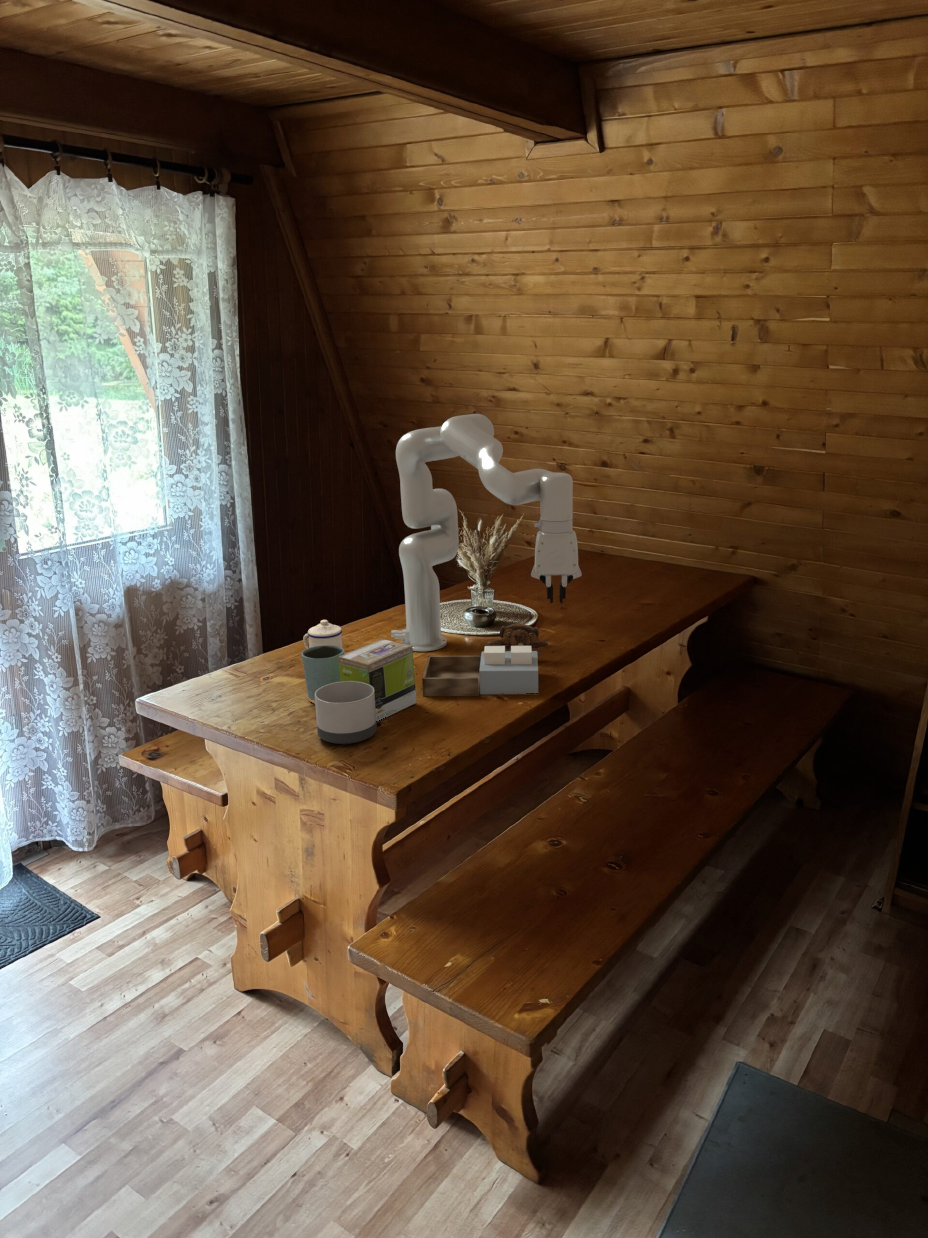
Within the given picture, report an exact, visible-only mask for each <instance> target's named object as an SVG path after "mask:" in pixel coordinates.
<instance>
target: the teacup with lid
mask: <svg viewBox="0 0 928 1238" xmlns="http://www.w3.org/2000/svg"><path fill="white" fill-rule="evenodd" d="M342 633H343V630H342V627H340V625H336V624H332V623H330V622H329V620H327V619H322V620H320V623H318V624H317V625H315V626H312V627H310V628H309V629H308V631H307V633H305V634H304V635H303V638H302V639H303V645H304V646H305V649H308V648H311V647H315V646H322V645H333V646H339V647H341V648H343V636H342Z"/></svg>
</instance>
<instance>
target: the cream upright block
mask: <svg viewBox="0 0 928 1238" xmlns="http://www.w3.org/2000/svg"><path fill="white" fill-rule="evenodd" d="M511 664H532V650H531V646H511Z"/></svg>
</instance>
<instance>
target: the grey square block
mask: <svg viewBox="0 0 928 1238" xmlns="http://www.w3.org/2000/svg"><path fill="white" fill-rule="evenodd" d="M480 656H481V662H480V670H479V673H480V688H479V695H527V694H526V693H538V694H539V663H538V661H539V656H538V657H537V651H532V664H511V651H505V664H484V650H483V651H481V655H480ZM502 693H504V694H502ZM517 693H519V694H517Z"/></svg>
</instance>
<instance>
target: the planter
mask: <svg viewBox="0 0 928 1238" xmlns="http://www.w3.org/2000/svg"><path fill="white" fill-rule="evenodd" d="M314 705H315V714H316V715H315V717H316V728H317V730H316V731H317V736H318V738H320V740H323V741H325V742H326V743H327V742H328V743H330V744H331V743H332V744H337V745H352V744H351V743H353V744H356V743H361V742H363V741H366V740H367V739H370V738H371V737H372V736H374V735H375V734H376V733H377V728H378V725H377V722H376V707H375V690H374V688H373V687H372V686H371V685H369V684H367V683H363V682H356V681H344V682H336V683H331V684H328V685H325V686H323V687H321V688H319V689H318V690H317V691H316V692H315V704H314Z"/></svg>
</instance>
